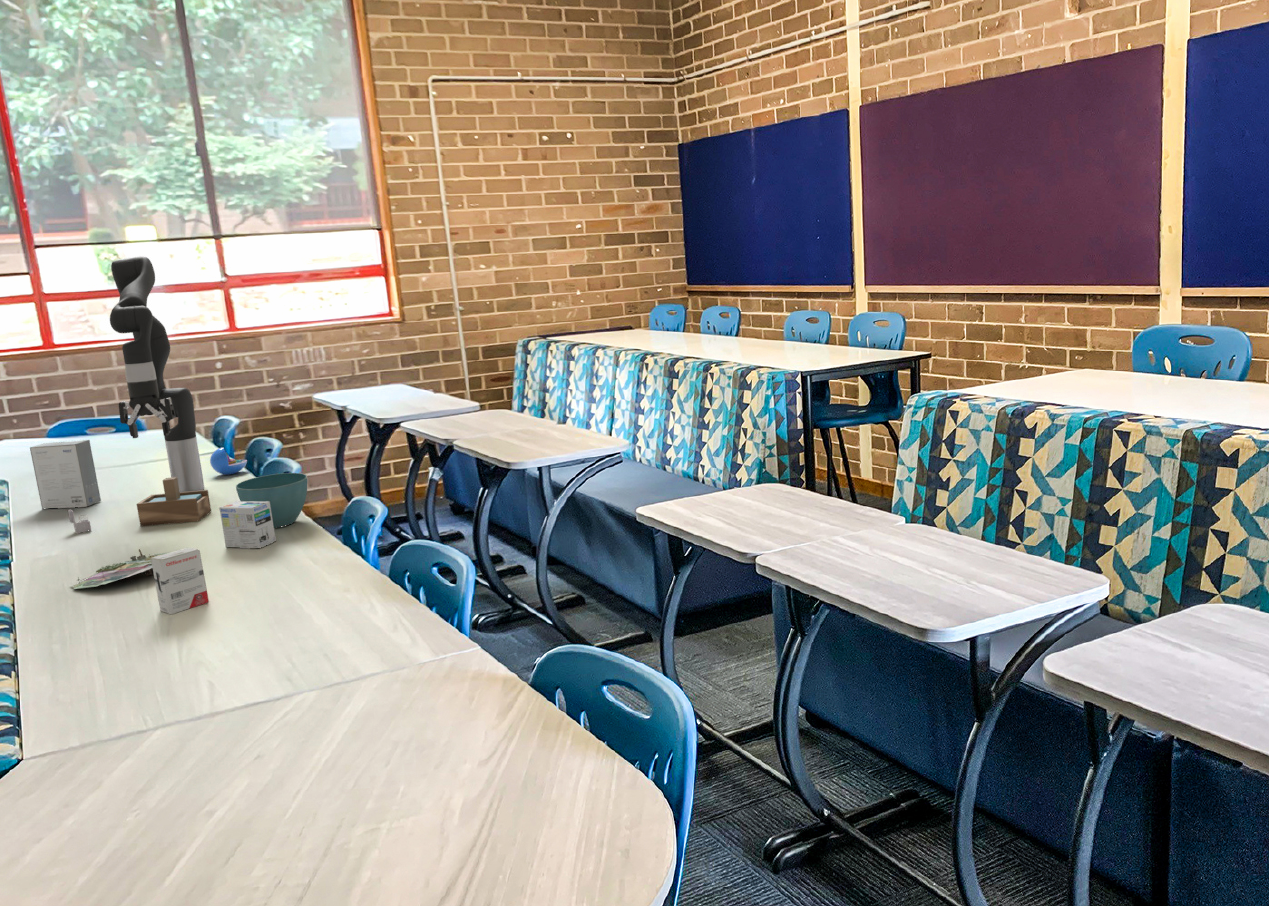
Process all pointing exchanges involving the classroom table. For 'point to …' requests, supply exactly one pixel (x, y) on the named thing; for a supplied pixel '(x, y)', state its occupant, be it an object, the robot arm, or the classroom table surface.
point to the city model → (119, 571)
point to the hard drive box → (65, 474)
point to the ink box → (179, 580)
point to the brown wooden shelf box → (173, 509)
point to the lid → (173, 491)
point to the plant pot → (277, 495)
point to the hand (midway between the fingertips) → (151, 436)
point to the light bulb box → (247, 524)
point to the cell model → (225, 463)
